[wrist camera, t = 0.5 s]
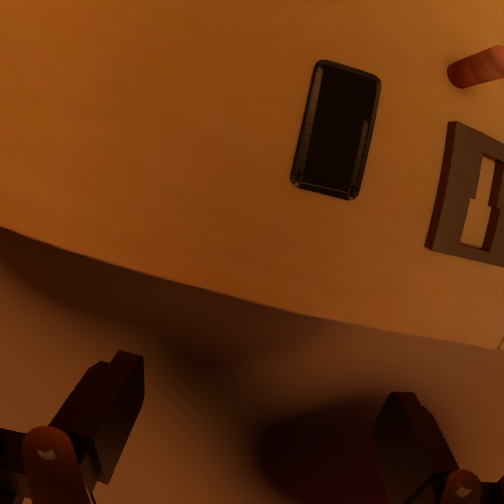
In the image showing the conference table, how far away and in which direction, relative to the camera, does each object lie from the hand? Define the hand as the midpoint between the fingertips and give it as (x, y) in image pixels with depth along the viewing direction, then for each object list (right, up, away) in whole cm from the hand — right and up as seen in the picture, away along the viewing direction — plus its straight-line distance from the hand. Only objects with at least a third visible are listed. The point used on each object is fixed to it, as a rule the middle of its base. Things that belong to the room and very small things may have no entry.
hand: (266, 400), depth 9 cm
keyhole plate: (+29, +12, +24) cm, 39 cm away
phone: (+9, +18, +23) cm, 31 cm away
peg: (+26, +27, +19) cm, 42 cm away
